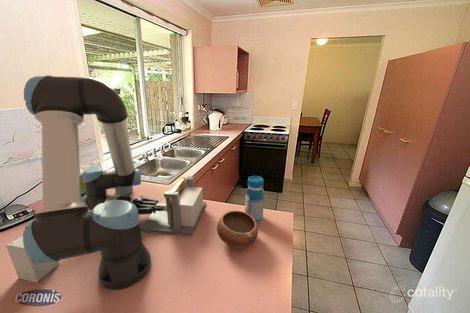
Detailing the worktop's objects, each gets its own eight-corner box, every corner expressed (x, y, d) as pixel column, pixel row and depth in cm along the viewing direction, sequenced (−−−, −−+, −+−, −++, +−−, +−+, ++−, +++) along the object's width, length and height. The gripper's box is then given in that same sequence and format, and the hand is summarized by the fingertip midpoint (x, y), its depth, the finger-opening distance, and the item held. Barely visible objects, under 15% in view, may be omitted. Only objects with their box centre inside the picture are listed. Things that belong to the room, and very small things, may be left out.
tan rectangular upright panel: (187, 201, 106) (186, 177, 102) (172, 225, 88) (170, 197, 84) (182, 201, 107) (181, 177, 103) (167, 224, 89) (164, 197, 84)
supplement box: (37, 283, 64) (24, 249, 60) (17, 278, 65) (4, 245, 61) (60, 264, 71) (51, 232, 67) (42, 260, 72) (32, 229, 68)
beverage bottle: (255, 226, 92) (257, 184, 85) (240, 218, 97) (241, 178, 91) (266, 218, 97) (269, 178, 91) (251, 211, 103) (254, 173, 96)
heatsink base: (205, 204, 108) (204, 172, 103) (192, 235, 85) (190, 197, 80) (163, 201, 110) (160, 170, 104) (139, 231, 87) (134, 193, 82)
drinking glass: (128, 186, 125) (125, 167, 121) (138, 191, 120) (135, 171, 116) (110, 192, 117) (107, 172, 113) (120, 198, 112) (116, 177, 108)
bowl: (250, 260, 74) (252, 236, 71) (210, 248, 79) (209, 225, 76) (261, 233, 88) (262, 212, 85) (226, 224, 93) (226, 204, 90)
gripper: (129, 203, 101) (177, 207, 99) (110, 220, 88) (165, 224, 87) (126, 189, 99) (176, 192, 97) (107, 204, 86) (164, 208, 84)
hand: (171, 207), depth 92 cm, fingers closed
